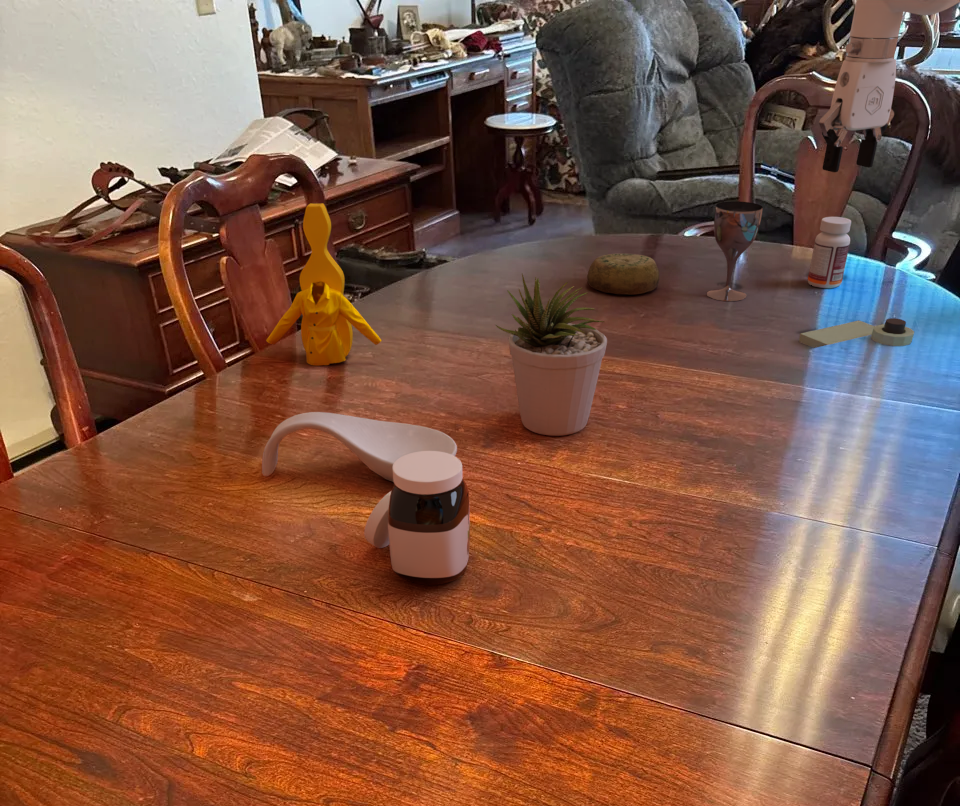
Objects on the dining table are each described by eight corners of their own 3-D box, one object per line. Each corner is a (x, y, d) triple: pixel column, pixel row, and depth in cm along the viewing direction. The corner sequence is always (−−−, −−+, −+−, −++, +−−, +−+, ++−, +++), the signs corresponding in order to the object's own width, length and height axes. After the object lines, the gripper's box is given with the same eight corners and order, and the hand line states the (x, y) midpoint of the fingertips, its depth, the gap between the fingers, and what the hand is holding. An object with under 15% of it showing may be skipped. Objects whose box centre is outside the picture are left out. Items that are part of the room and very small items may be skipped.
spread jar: (458, 597, 95) (456, 492, 88) (349, 587, 96) (338, 483, 90) (480, 537, 104) (478, 438, 97) (379, 528, 106) (371, 431, 99)
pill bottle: (839, 280, 180) (852, 216, 173) (842, 290, 175) (856, 224, 169) (805, 278, 181) (817, 215, 174) (808, 288, 176) (820, 223, 169)
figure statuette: (266, 367, 146) (244, 213, 133) (277, 349, 152) (257, 201, 139) (381, 368, 145) (370, 213, 132) (387, 350, 152) (377, 201, 139)
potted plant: (522, 398, 136) (525, 251, 124) (614, 414, 131) (626, 263, 119) (483, 431, 126) (482, 276, 115) (581, 450, 122) (590, 290, 110)
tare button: (892, 328, 150) (895, 316, 149) (907, 333, 148) (910, 322, 147) (878, 331, 149) (881, 320, 148) (893, 336, 147) (896, 325, 146)
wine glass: (704, 287, 177) (715, 200, 168) (748, 289, 176) (762, 202, 167) (703, 300, 171) (715, 210, 162) (749, 302, 170) (763, 212, 161)
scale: (856, 328, 158) (861, 310, 156) (917, 351, 149) (922, 332, 148) (798, 342, 153) (801, 323, 151) (857, 366, 144) (861, 346, 143)
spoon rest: (459, 452, 122) (458, 398, 117) (455, 495, 112) (454, 439, 108) (275, 451, 122) (267, 398, 118) (255, 494, 113) (246, 438, 108)
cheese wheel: (619, 271, 186) (621, 244, 183) (674, 286, 178) (677, 258, 175) (571, 285, 179) (573, 258, 176) (626, 301, 171) (629, 273, 168)
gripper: (849, 55, 150) (826, 177, 160) (926, 49, 157) (899, 167, 167) (814, 51, 155) (794, 170, 166) (890, 45, 162) (866, 160, 172)
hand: (847, 167), depth 166 cm, fingers open, 7 cm apart
